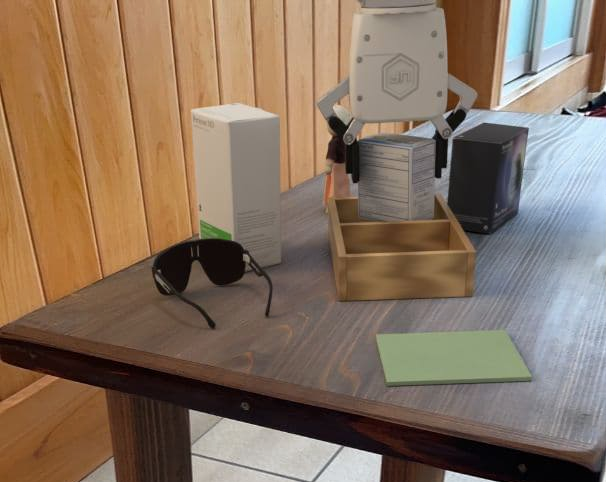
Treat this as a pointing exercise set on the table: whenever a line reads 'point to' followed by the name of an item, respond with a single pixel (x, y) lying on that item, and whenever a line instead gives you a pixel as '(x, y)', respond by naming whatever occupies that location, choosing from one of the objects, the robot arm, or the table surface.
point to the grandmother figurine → (336, 162)
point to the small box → (486, 175)
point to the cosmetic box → (239, 178)
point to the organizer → (399, 255)
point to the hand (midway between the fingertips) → (395, 177)
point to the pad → (450, 358)
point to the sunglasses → (204, 267)
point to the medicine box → (396, 178)
